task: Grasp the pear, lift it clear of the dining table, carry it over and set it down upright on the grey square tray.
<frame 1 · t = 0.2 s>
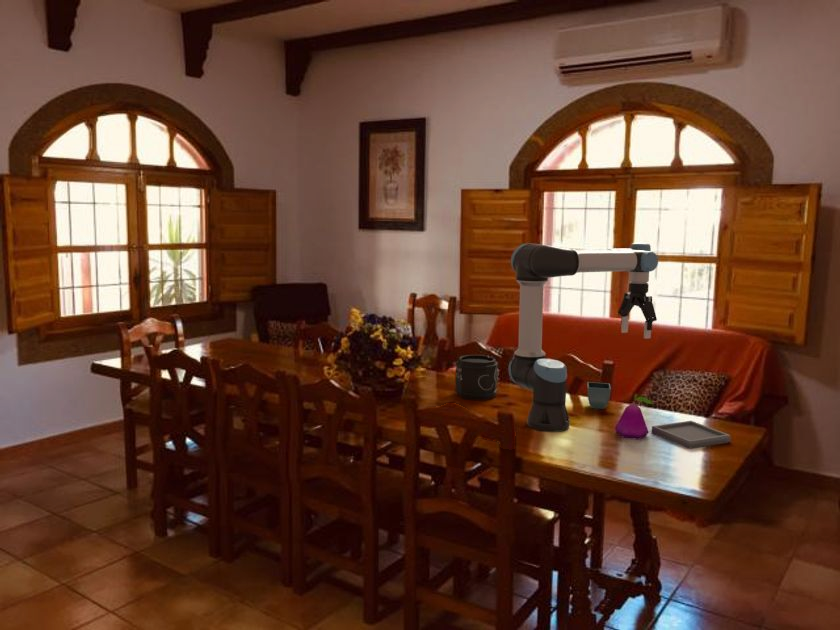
hand: (635, 335, 288), 28 cm above the table, fingers open, 13 cm apart
flower pot: (597, 407, 286), on the table
grey square tray: (690, 437, 249), on the table
dark grey canister: (476, 395, 302), on the table
pear: (631, 435, 251), on the table
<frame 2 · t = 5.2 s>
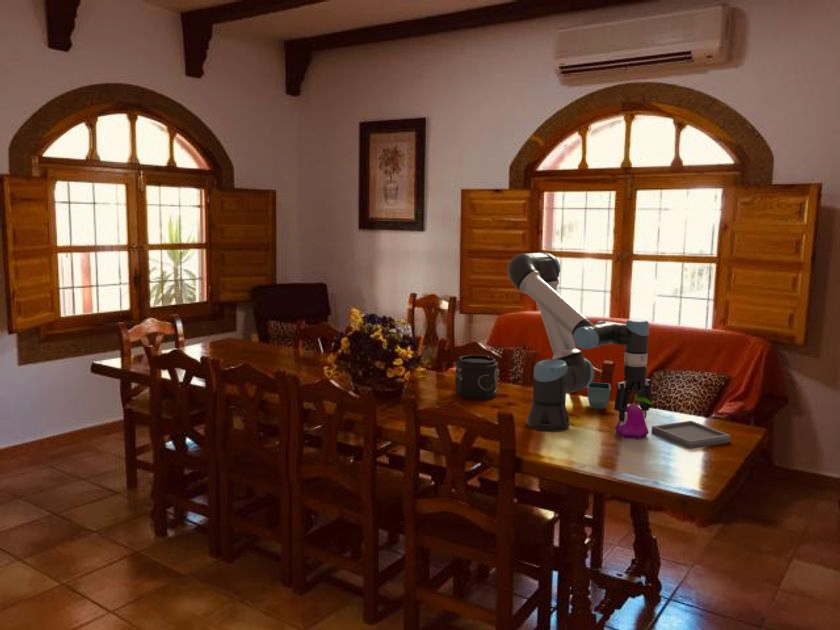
hand: (632, 428, 251), 2 cm above the table, fingers closed on pear, 7 cm apart
pear: (631, 435, 251), on the table, touching gripper
everything else where it was.
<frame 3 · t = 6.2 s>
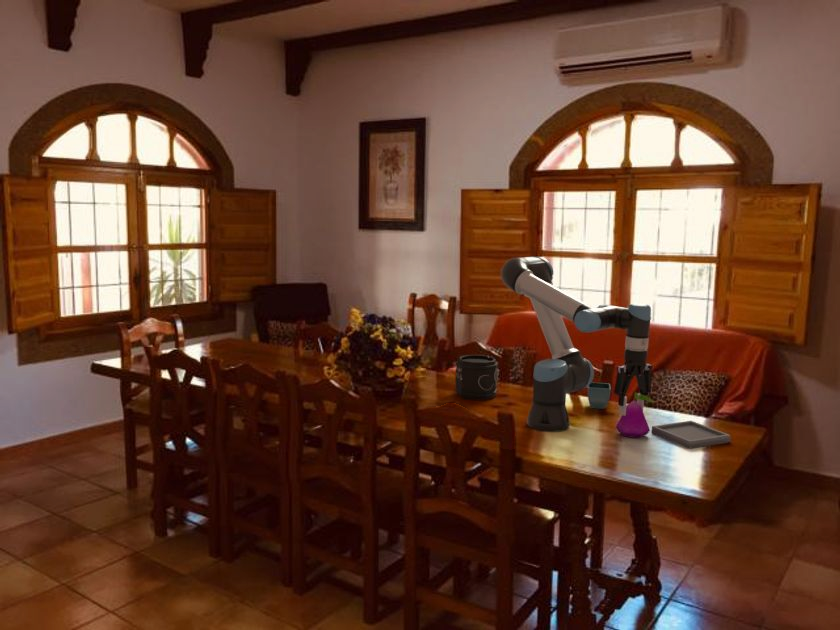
hand: (630, 413, 251), 8 cm above the table, fingers open, 7 cm apart
pear: (632, 433, 251), on the table, touching gripper
everything else where it was.
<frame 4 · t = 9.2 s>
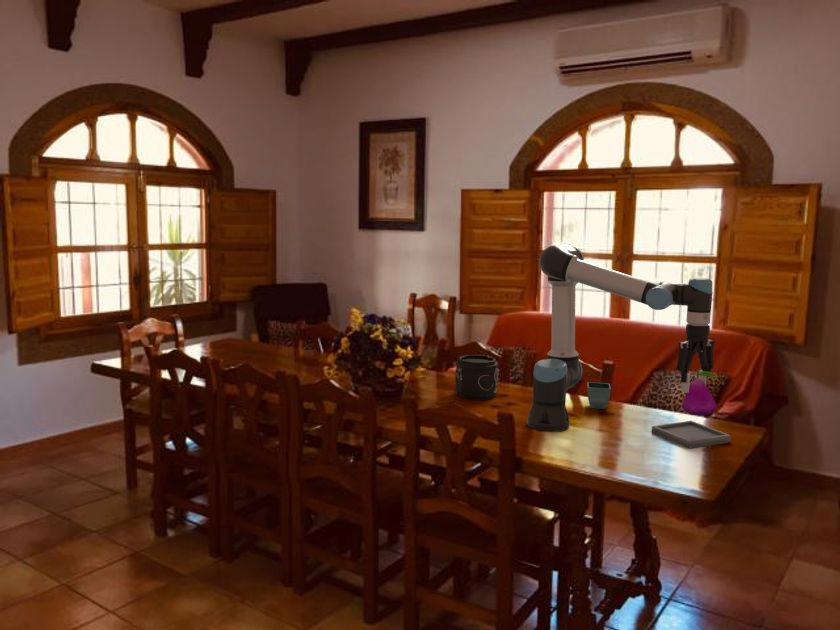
hand: (693, 390, 246), 17 cm above the table
pear: (699, 411, 247), point 9 cm above the table, touching gripper
everything else where it was.
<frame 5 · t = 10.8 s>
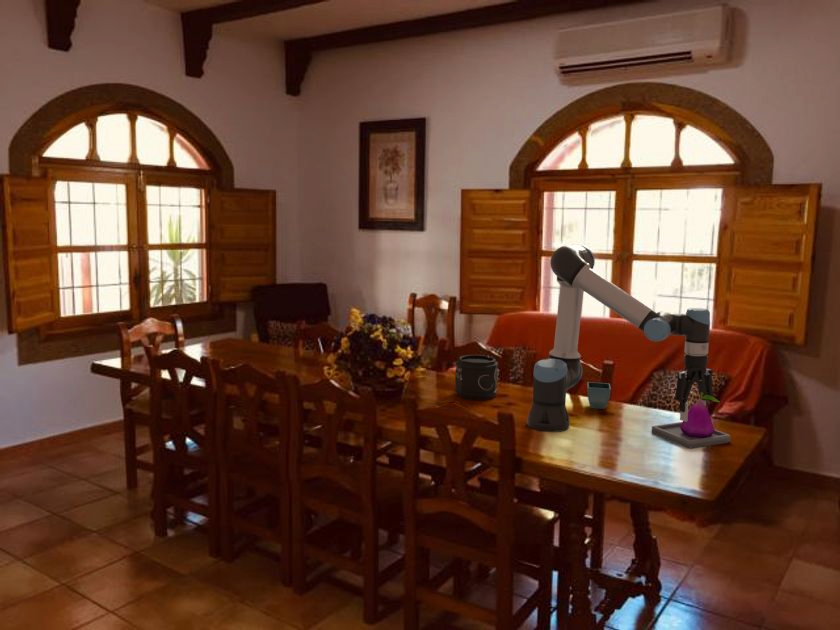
hand: (692, 419, 248), 7 cm above the table, fingers open, 7 cm apart
pear: (697, 434, 248), point 1 cm above the table, touching gripper, grey square tray
everything else where it was.
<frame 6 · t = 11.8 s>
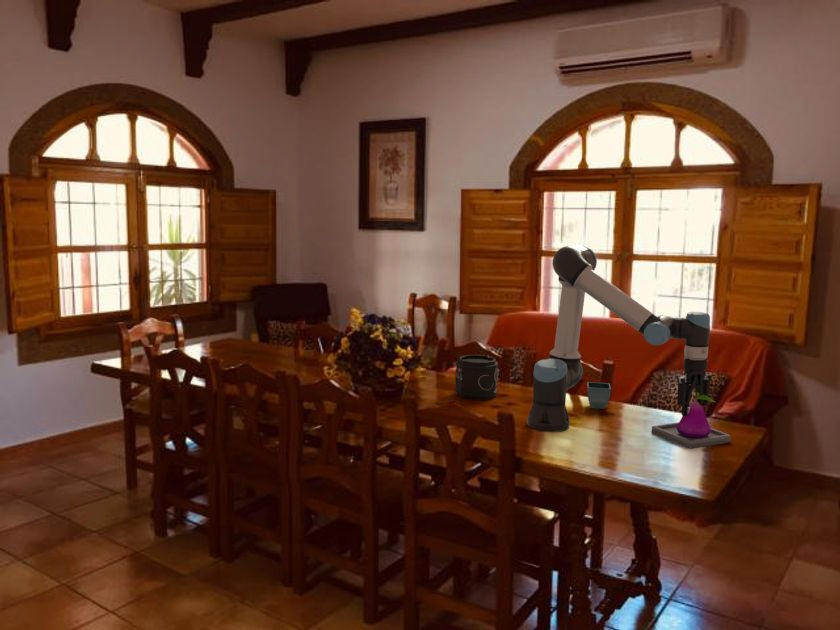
hand: (691, 424, 248), 5 cm above the table, fingers closed on pear, 4 cm apart
pear: (693, 434, 248), point 1 cm above the table, touching gripper, grey square tray
everything else where it was.
when the fingers open (5 cm above the table, at t = 11.8 s): pear stays where it is, resting on grey square tray.
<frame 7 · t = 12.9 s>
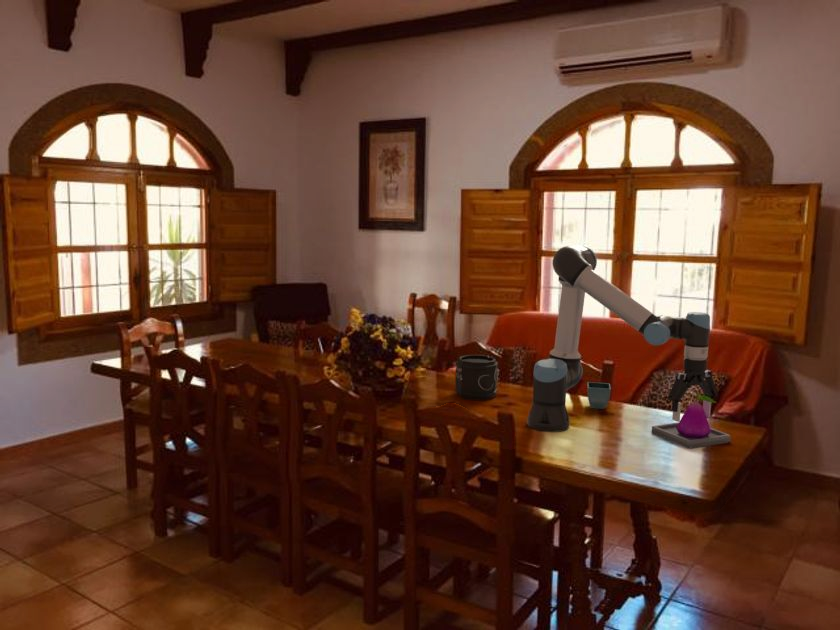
hand: (691, 418, 248), 7 cm above the table, fingers open, 13 cm apart
pear: (693, 434, 248), point 1 cm above the table, touching grey square tray
everything else where it was.
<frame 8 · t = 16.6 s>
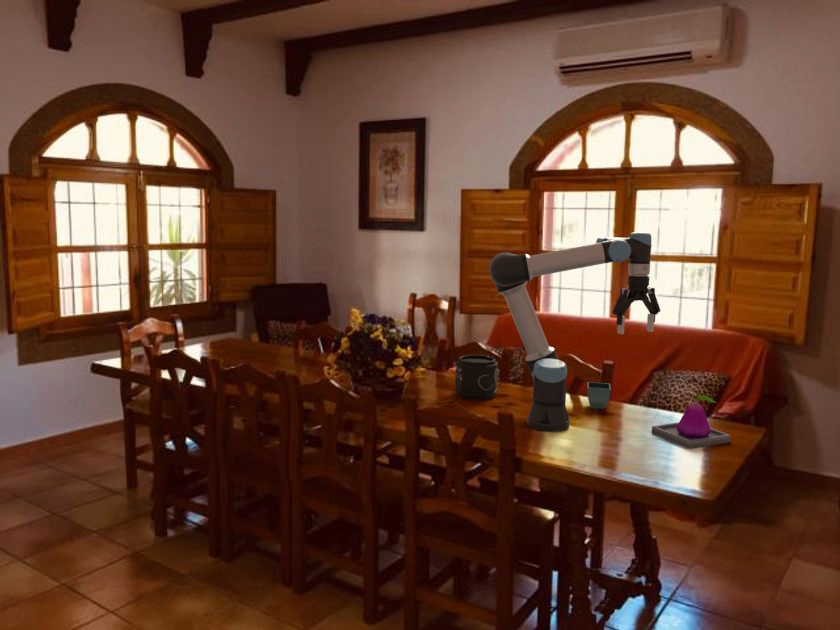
hand: (635, 332, 266), 33 cm above the table, fingers open, 13 cm apart
nothing on the table moved.
at the end: pear inside the target area on the grey square tray (1.3 cm from its centre), point 1.3 cm above the grey square tray's base; pear tilted 0°; pear touching grey square tray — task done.
